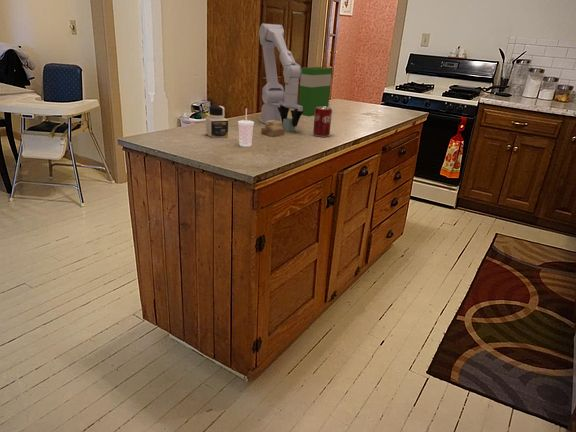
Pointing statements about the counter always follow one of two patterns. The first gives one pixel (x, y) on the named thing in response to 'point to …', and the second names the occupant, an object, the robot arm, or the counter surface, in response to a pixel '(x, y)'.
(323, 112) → the soda can
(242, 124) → the beverage cup
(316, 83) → the hardback book
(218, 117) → the medicine bottle
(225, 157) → the counter surface
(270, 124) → the maple cube
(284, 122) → the teal block
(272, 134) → the walnut slab
